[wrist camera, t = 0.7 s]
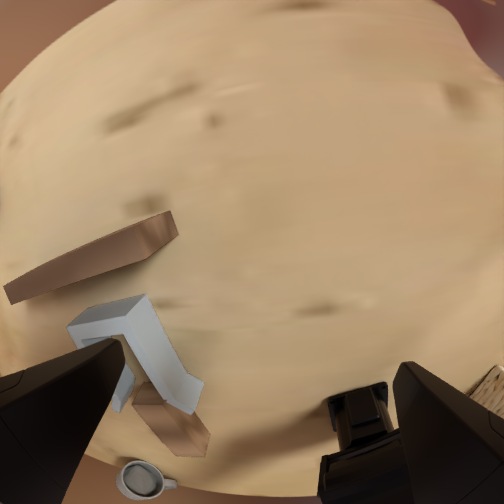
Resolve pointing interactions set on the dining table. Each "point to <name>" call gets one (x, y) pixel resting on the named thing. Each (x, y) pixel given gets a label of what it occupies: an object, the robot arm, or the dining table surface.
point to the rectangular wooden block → (171, 423)
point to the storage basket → (492, 391)
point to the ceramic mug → (142, 481)
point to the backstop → (95, 257)
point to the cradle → (139, 350)
